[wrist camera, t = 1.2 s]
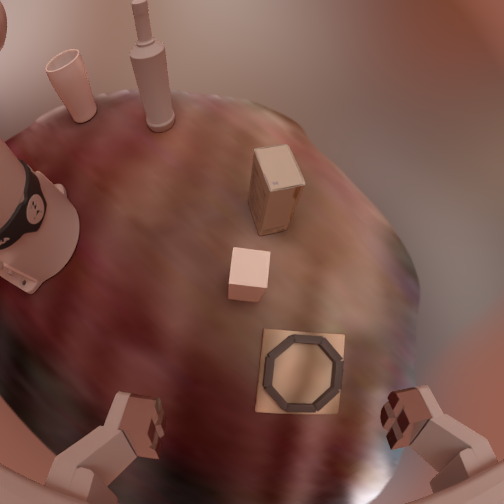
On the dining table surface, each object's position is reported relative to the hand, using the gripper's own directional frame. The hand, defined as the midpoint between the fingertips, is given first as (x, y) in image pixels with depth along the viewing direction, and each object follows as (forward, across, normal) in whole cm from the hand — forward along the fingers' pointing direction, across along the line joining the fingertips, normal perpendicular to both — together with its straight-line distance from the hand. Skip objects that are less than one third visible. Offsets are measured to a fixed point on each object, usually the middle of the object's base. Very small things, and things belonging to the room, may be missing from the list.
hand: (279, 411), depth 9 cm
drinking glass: (+50, +34, -13) cm, 62 cm away
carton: (+29, +1, +12) cm, 31 cm away
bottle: (+48, +16, -10) cm, 51 cm away
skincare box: (+36, -2, +4) cm, 37 cm away
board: (+21, -6, +21) cm, 30 cm away
